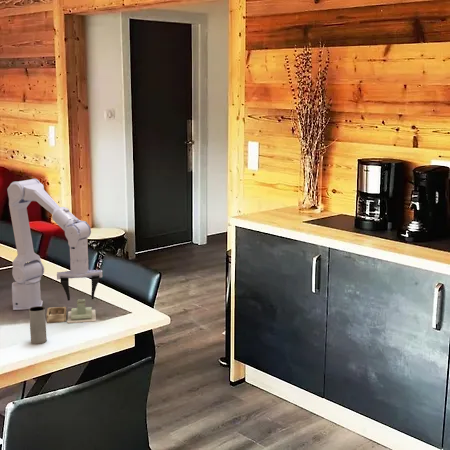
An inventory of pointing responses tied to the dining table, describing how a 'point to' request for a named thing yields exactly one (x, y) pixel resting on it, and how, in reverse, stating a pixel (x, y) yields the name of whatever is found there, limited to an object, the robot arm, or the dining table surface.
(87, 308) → the lid
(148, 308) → the dining table surface
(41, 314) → the cardboard tube
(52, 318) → the box
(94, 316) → the mat
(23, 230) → the robot arm
